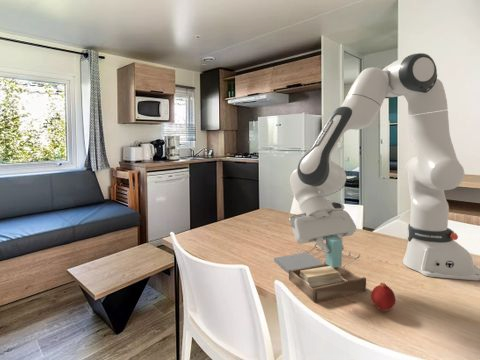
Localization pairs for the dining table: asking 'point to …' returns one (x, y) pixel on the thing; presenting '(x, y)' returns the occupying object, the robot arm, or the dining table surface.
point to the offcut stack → (320, 276)
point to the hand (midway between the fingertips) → (334, 251)
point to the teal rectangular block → (334, 252)
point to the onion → (383, 297)
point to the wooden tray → (332, 290)
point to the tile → (297, 261)
